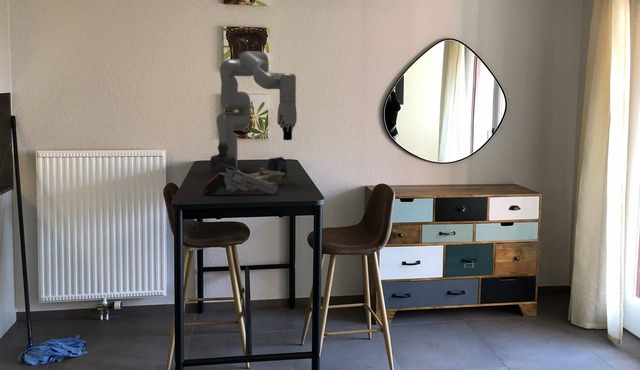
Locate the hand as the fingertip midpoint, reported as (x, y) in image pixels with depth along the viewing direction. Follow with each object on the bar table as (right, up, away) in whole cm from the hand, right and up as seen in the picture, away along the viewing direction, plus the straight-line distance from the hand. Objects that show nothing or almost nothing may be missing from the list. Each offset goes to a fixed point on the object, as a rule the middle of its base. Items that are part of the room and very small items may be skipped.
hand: (287, 139), depth 321 cm
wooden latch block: (-15, -22, -3) cm, 27 cm away
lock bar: (-7, -16, +1) cm, 18 cm away
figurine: (-30, -21, +1) cm, 37 cm away
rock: (-7, -18, +25) cm, 32 cm away
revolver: (-19, -26, -26) cm, 41 cm away
